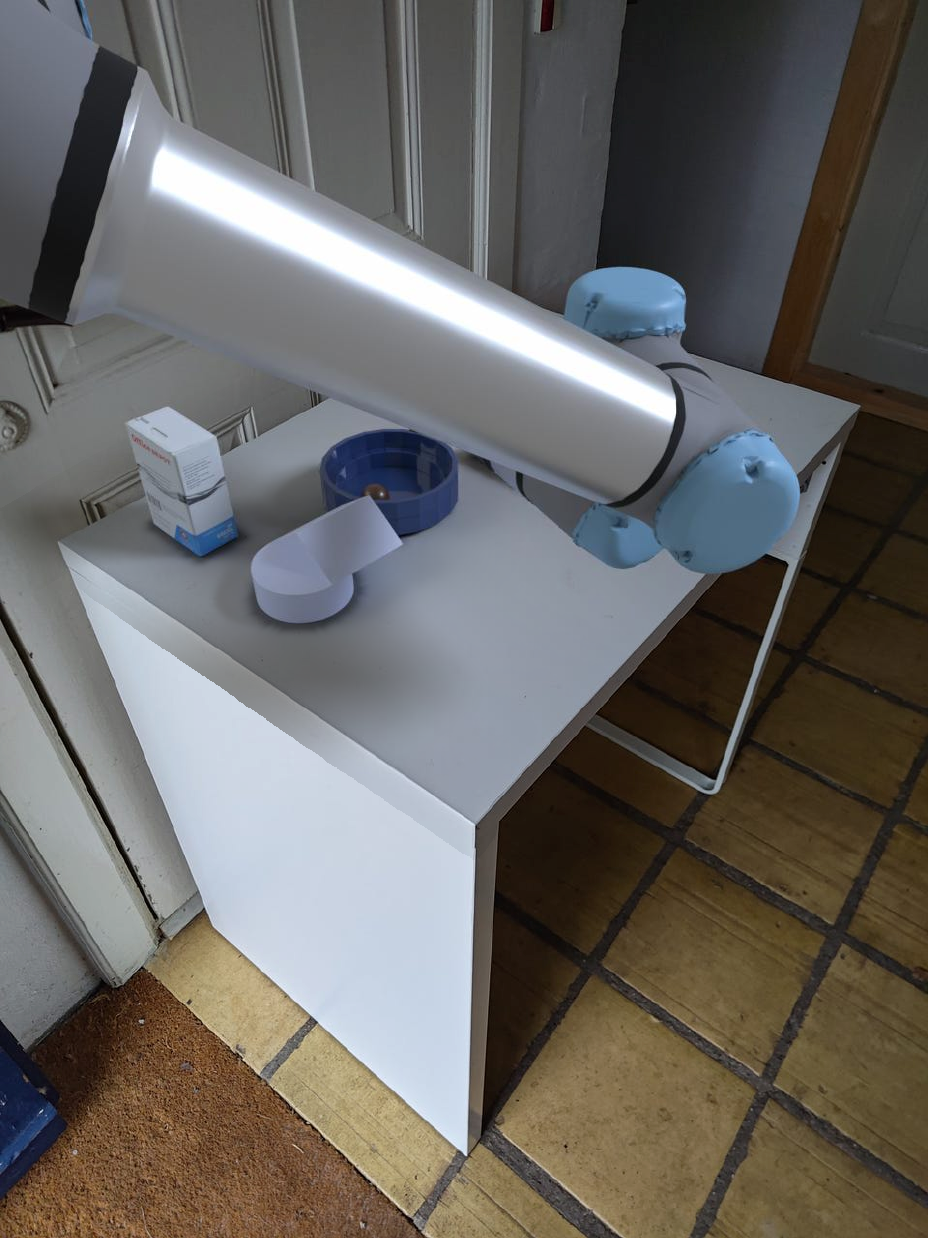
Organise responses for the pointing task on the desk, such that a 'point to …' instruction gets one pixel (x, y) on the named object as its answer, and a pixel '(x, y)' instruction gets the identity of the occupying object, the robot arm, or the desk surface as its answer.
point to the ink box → (183, 479)
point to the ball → (376, 492)
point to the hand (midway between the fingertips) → (385, 329)
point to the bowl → (394, 476)
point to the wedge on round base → (320, 562)
